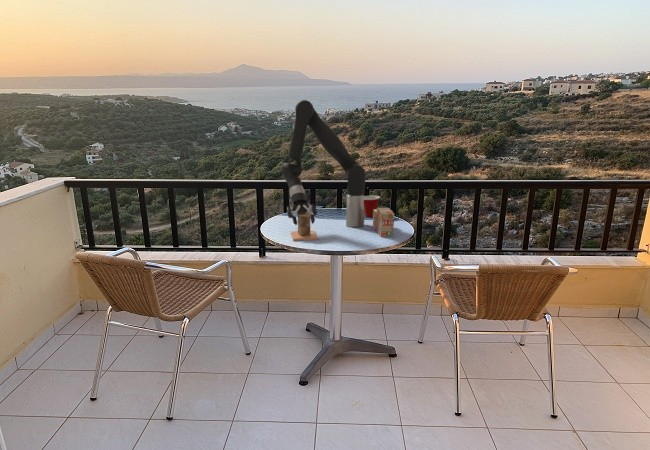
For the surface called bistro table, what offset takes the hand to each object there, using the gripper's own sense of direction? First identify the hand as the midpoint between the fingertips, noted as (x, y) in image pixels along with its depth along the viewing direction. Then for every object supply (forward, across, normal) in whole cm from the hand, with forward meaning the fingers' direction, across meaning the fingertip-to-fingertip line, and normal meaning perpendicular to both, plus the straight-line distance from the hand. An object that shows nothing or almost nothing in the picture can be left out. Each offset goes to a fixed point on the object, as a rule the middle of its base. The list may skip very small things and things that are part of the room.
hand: (304, 223), depth 196 cm
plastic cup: (-15, +49, +25) cm, 57 cm away
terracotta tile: (+4, 0, +6) cm, 7 cm away
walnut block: (+3, 0, +5) cm, 6 cm away
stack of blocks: (+7, +42, +4) cm, 43 cm away
